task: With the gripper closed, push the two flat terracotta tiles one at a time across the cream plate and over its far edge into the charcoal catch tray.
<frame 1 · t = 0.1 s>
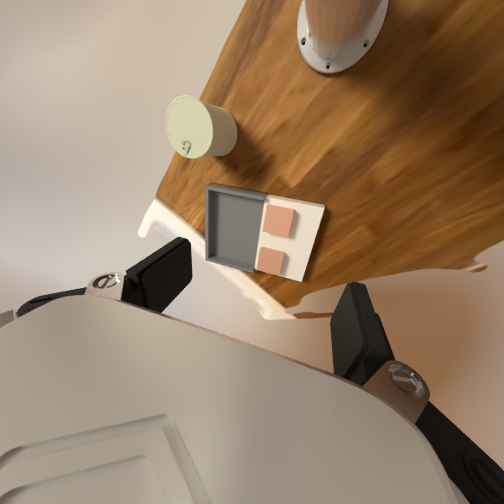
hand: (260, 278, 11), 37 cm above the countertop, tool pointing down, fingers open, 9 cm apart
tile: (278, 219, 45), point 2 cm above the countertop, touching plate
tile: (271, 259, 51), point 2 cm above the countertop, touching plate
tray: (236, 227, 52), on the countertop
plate: (286, 238, 49), on the countertop
can: (218, 132, 43), on the countertop
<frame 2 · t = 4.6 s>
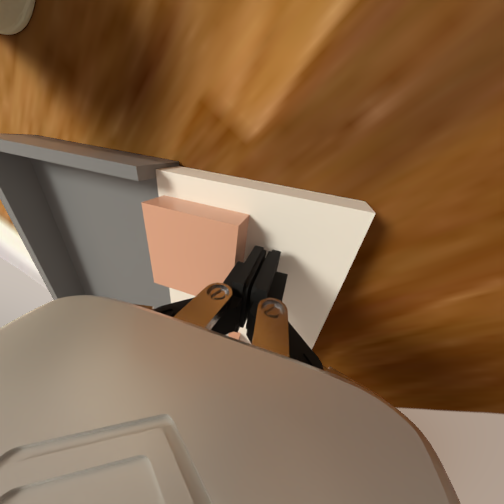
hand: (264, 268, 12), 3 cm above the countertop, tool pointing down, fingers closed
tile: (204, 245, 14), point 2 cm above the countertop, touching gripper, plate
tray: (126, 256, 21), on the countertop
plate: (247, 292, 18), on the countertop
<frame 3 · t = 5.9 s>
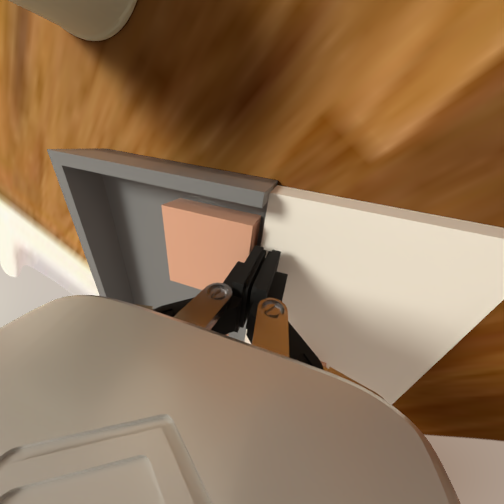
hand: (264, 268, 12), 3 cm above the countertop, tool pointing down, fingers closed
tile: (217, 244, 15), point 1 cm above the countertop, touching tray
tray: (189, 275, 19), on the countertop
plate: (328, 317, 17), on the countertop
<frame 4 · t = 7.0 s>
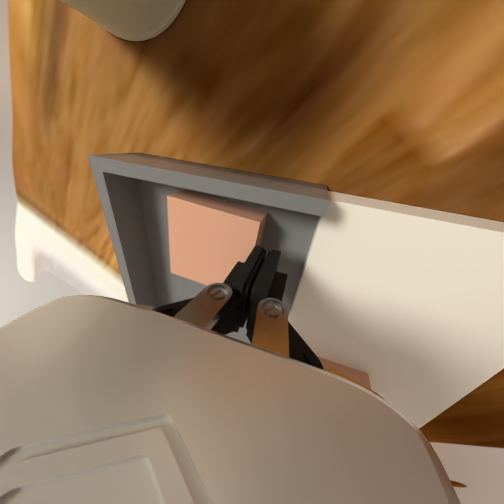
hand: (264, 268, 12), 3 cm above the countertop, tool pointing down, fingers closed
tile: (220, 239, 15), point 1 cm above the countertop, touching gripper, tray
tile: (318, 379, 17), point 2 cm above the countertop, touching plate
tray: (219, 281, 19), on the countertop
plate: (367, 325, 16), on the countertop
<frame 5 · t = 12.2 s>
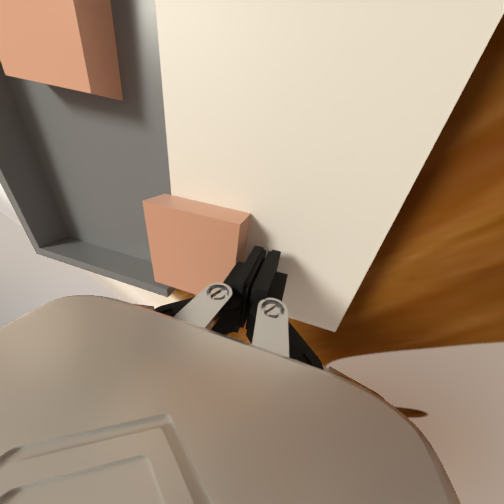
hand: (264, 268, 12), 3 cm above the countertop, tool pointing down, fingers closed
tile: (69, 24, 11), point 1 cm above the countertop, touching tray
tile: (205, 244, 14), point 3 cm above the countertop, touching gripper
tray: (109, 138, 15), on the countertop
plate: (281, 167, 13), on the countertop
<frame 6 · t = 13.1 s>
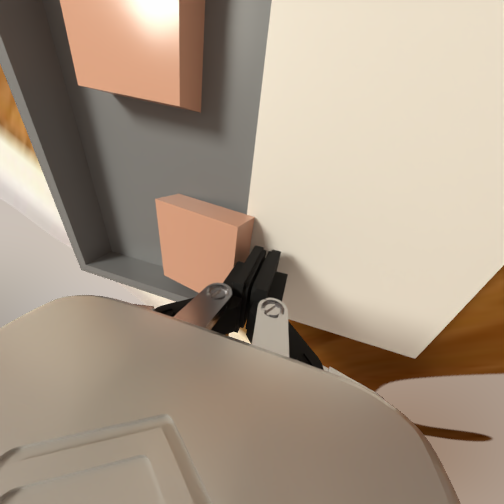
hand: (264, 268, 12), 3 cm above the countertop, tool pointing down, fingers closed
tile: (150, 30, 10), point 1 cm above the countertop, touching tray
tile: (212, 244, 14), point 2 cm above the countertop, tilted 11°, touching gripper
tray: (169, 150, 14), on the countertop
plate: (368, 184, 12), on the countertop
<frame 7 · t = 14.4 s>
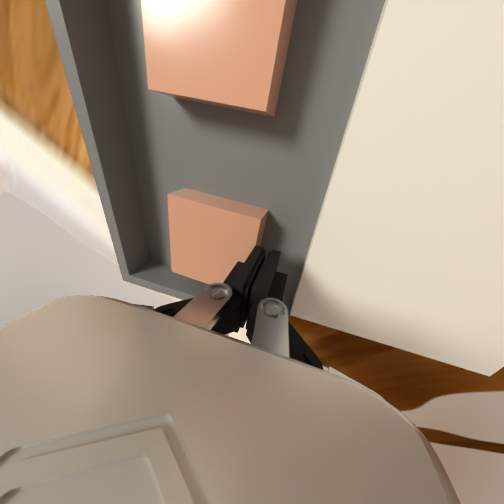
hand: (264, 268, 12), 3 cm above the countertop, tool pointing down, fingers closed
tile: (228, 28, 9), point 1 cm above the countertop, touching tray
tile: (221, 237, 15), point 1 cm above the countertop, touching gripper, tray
tray: (224, 156, 13), on the countertop
plate: (450, 192, 11), on the countertop
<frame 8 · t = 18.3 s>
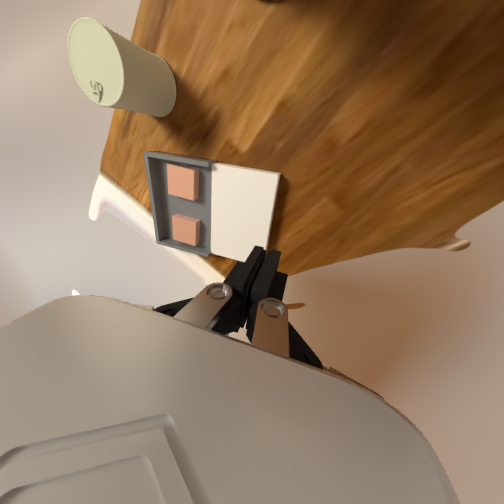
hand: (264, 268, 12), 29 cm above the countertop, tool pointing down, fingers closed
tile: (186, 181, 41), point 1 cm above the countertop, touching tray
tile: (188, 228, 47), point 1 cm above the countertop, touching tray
tray: (188, 204, 46), on the countertop
plate: (243, 216, 43), on the countertop
can: (155, 87, 36), on the countertop
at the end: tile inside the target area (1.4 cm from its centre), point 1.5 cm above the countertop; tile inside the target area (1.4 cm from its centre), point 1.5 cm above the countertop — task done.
